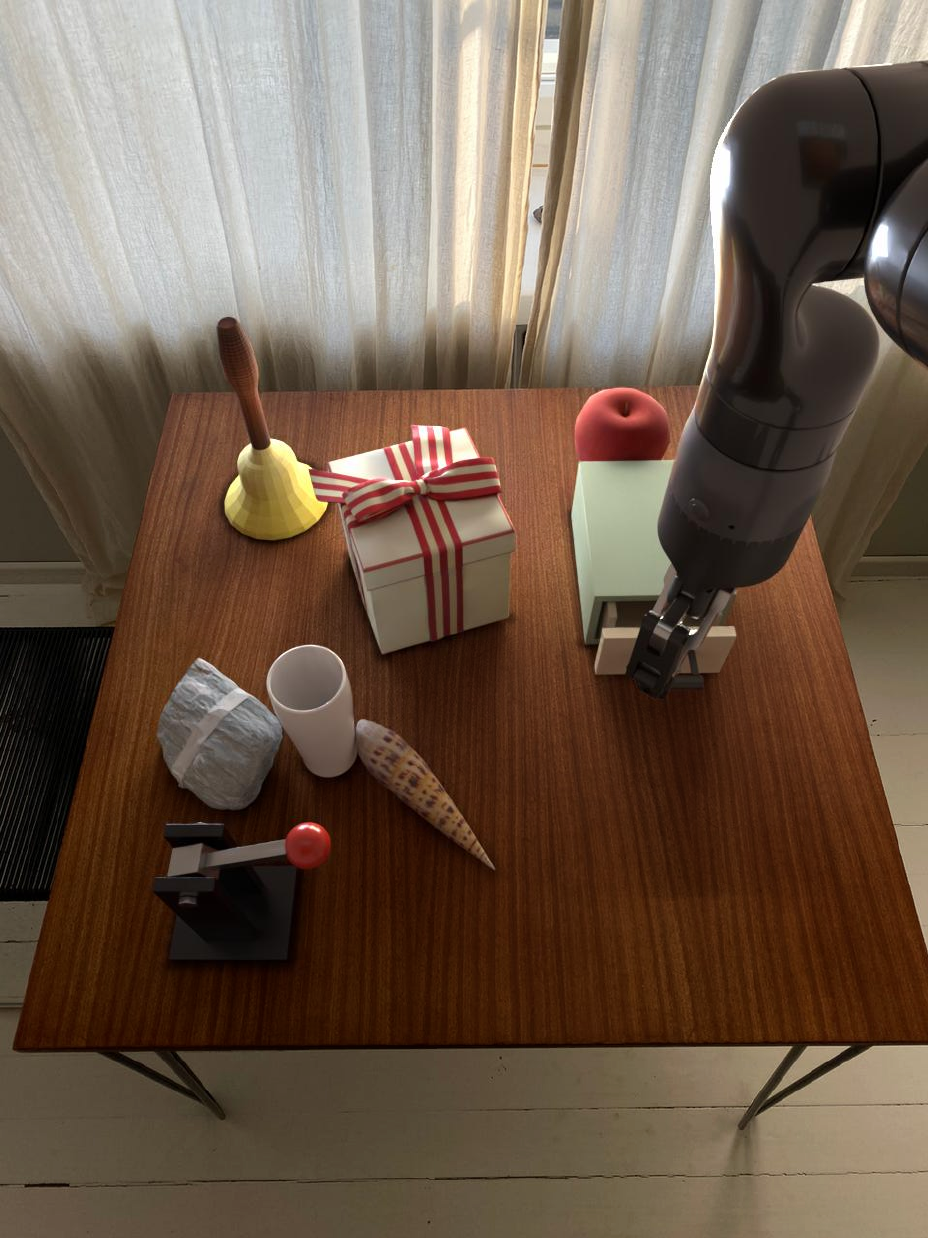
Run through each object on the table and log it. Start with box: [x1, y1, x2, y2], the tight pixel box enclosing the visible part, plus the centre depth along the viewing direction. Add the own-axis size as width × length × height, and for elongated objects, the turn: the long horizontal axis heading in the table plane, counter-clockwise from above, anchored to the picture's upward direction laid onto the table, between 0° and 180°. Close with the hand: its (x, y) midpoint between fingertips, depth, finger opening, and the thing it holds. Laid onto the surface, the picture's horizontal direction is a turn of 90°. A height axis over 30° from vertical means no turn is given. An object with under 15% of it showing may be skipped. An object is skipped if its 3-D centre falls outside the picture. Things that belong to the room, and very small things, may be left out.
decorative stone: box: [156, 657, 284, 811], centre depth 83 cm, size 13×10×6 cm
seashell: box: [355, 718, 496, 871], centre depth 80 cm, size 4×18×5 cm, turn 43°
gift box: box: [308, 424, 517, 655], centre depth 89 cm, size 17×18×17 cm
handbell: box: [215, 316, 329, 541], centre depth 93 cm, size 12×12×25 cm
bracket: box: [151, 822, 300, 964], centre depth 70 cm, size 10×8×16 cm
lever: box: [166, 821, 332, 880], centre depth 63 cm, size 13×3×3 cm, turn 90°
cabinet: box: [570, 459, 738, 645], centre depth 93 cm, size 18×14×9 cm
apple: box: [574, 387, 671, 462], centre depth 100 cm, size 11×11×12 cm
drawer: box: [594, 601, 737, 691], centre depth 89 cm, size 21×13×7 cm, turn 1°
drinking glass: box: [266, 644, 358, 778], centre depth 79 cm, size 7×7×15 cm
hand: (681, 644), depth 59 cm, fingers open, 8 cm apart
